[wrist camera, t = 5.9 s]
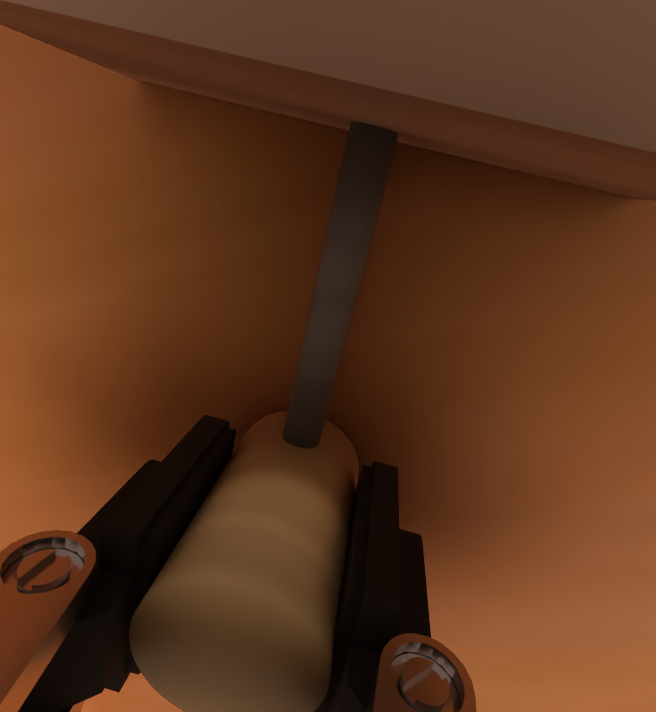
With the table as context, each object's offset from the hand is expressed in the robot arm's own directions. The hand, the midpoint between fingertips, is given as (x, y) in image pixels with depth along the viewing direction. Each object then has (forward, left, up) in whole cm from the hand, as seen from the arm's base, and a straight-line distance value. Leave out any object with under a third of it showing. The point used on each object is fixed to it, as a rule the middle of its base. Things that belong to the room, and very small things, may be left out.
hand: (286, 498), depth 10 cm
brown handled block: (-8, 0, -1) cm, 8 cm away
